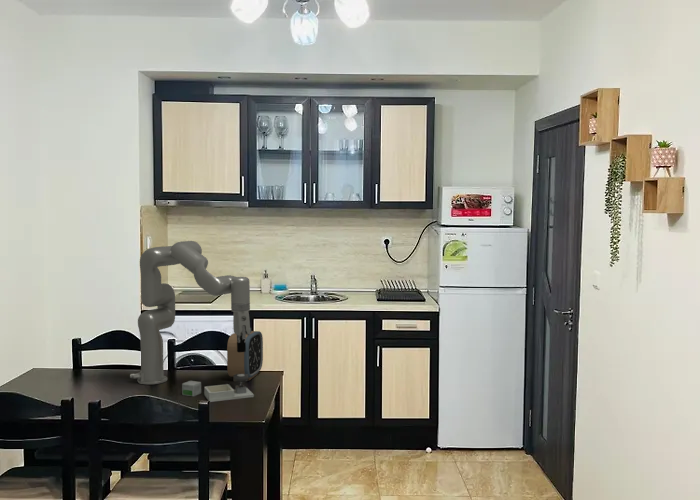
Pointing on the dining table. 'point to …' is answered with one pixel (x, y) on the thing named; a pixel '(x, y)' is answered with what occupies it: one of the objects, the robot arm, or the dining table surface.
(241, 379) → the wheel
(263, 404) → the dining table surface
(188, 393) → the small box
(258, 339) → the alarm clock
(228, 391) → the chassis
